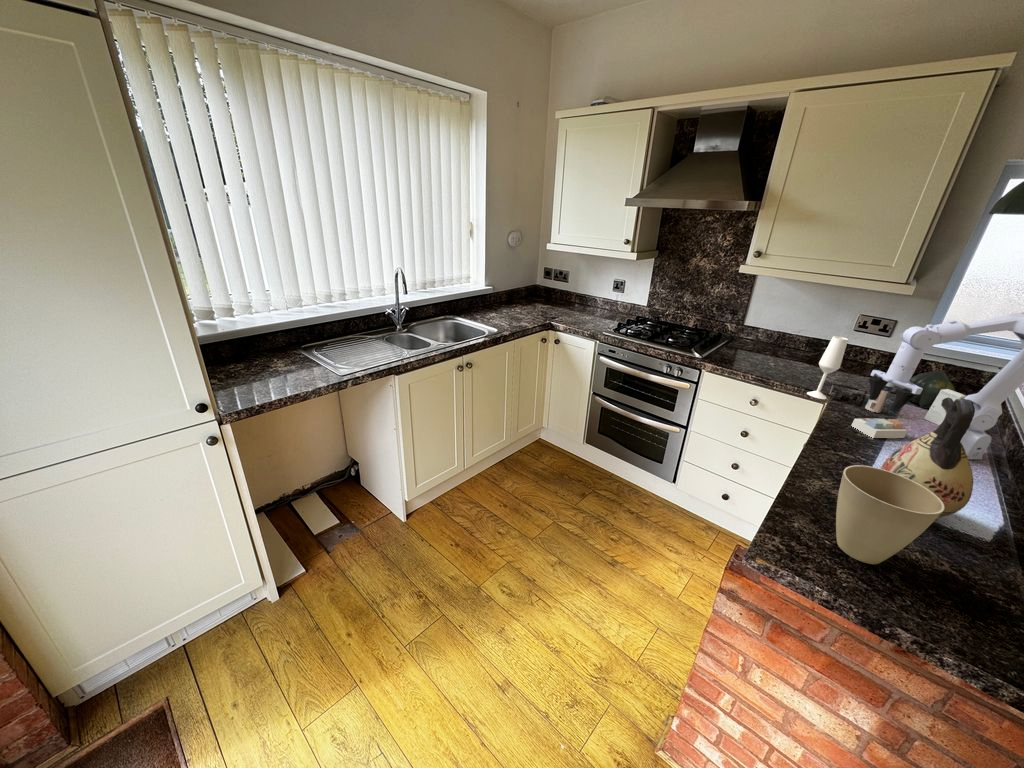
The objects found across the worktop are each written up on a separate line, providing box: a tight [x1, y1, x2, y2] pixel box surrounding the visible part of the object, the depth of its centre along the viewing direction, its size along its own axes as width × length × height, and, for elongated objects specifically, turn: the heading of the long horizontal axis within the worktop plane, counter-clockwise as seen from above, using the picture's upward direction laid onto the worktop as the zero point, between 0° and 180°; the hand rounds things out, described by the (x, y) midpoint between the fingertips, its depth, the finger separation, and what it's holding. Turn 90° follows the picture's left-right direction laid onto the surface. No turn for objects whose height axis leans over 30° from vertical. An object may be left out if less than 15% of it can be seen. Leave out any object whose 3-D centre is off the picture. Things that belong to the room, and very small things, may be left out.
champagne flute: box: [806, 335, 849, 400], centre depth 160 cm, size 7×7×24 cm
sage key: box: [878, 418, 894, 429], centre depth 135 cm, size 3×3×2 cm
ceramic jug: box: [879, 397, 975, 523], centre depth 93 cm, size 17×15×30 cm
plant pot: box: [835, 464, 944, 565], centre depth 82 cm, size 15×15×16 cm
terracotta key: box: [887, 418, 905, 429], centre depth 136 cm, size 3×3×2 cm
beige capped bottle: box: [864, 382, 895, 414], centre depth 152 cm, size 5×5×12 cm
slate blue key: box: [865, 419, 884, 429], centre depth 135 cm, size 3×3×2 cm
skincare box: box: [923, 389, 967, 426], centre depth 147 cm, size 6×4×12 cm
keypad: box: [850, 417, 909, 439], centre depth 137 cm, size 8×12×4 cm, turn 98°
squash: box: [901, 370, 957, 409], centre depth 163 cm, size 14×15×15 cm
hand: (883, 404), depth 132 cm, fingers open, 7 cm apart
